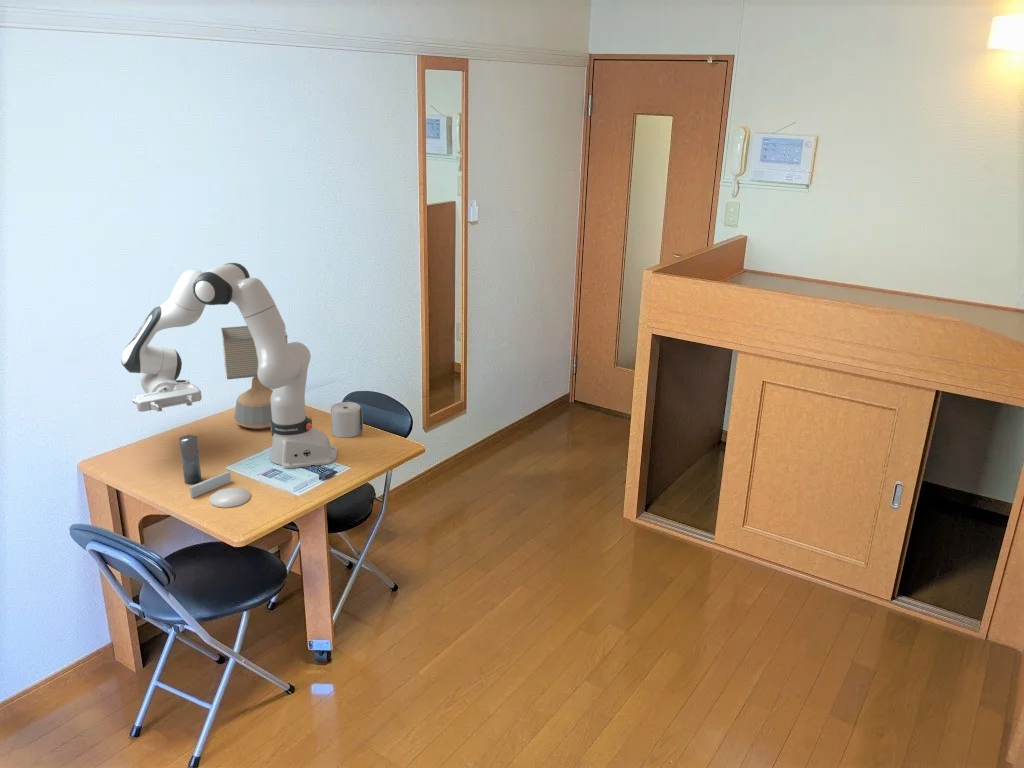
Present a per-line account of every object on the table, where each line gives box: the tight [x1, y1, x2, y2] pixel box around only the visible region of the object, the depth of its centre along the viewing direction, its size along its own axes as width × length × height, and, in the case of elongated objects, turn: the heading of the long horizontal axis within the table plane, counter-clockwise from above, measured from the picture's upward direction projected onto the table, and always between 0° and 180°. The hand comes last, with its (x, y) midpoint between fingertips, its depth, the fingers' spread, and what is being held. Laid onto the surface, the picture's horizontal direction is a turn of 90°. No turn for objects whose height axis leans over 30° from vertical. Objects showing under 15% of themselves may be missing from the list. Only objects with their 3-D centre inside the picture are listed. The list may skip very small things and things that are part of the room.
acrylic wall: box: [189, 471, 232, 499], centre depth 263 cm, size 14×1×4 cm, turn 144°
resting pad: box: [208, 487, 251, 509], centre depth 258 cm, size 12×12×1 cm
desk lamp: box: [220, 325, 289, 430], centre depth 308 cm, size 22×19×37 cm
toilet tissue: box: [330, 401, 364, 439], centre depth 306 cm, size 11×12×10 cm
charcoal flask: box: [178, 434, 203, 485], centre depth 266 cm, size 5×5×15 cm
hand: (175, 406), depth 271 cm, fingers open, 8 cm apart
